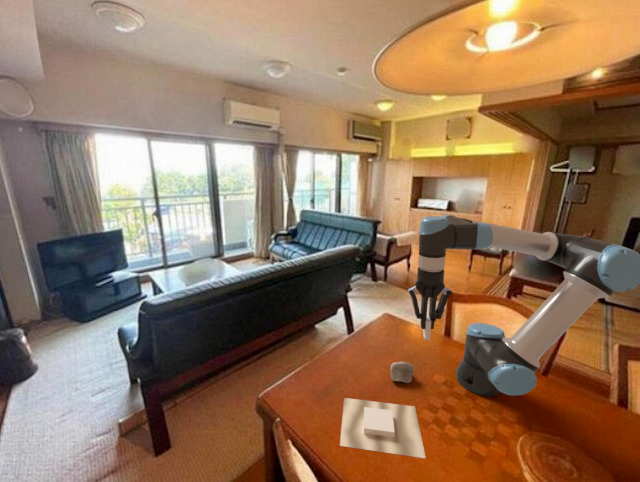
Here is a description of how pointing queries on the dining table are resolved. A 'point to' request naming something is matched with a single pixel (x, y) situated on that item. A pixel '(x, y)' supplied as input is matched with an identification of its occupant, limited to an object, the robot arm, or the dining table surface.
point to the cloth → (402, 443)
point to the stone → (402, 371)
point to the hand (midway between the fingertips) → (426, 337)
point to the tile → (378, 422)
